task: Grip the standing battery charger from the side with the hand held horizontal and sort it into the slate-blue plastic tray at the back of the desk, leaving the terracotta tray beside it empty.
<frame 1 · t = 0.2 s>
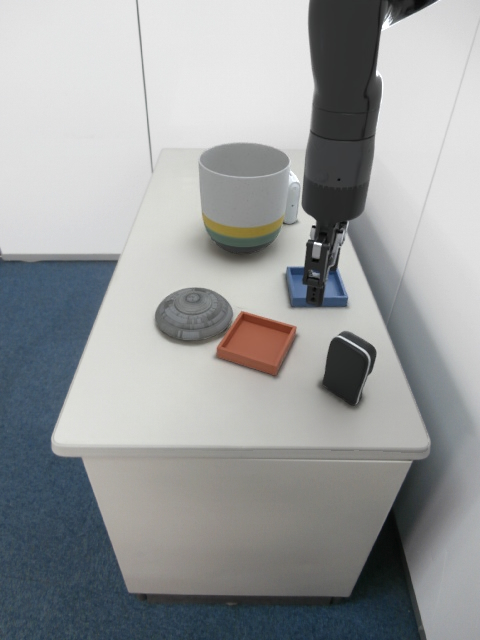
hand: (322, 285, 62), 21 cm above the table, tool pointing down, fingers open, 8 cm apart
flying saucer: (194, 319, 89), on the table
battery charger: (343, 390, 76), on the table
terracotta tray: (257, 345, 83), on the table
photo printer: (283, 215, 122), on the table
blue tray: (314, 290, 96), on the table
planter: (242, 246, 110), on the table
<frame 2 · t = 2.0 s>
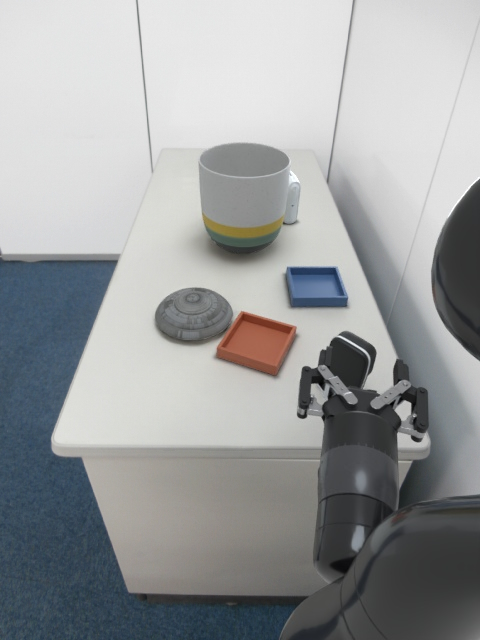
hand: (362, 357, 56), 18 cm above the table, tool horizontal, fingers open, 8 cm apart
nothing on the table moved.
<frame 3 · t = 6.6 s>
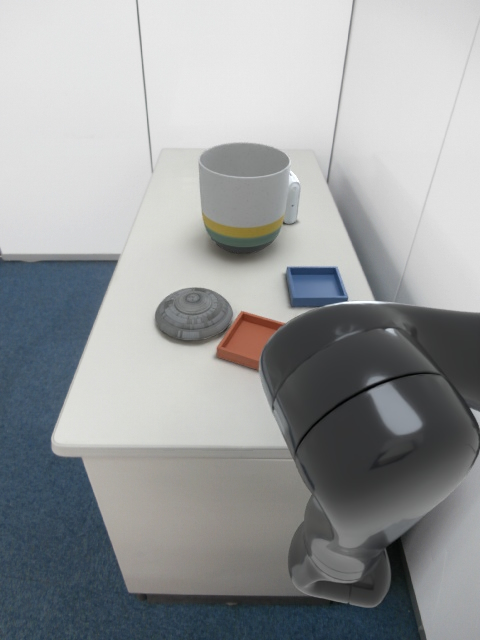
hand: (350, 351, 72), 7 cm above the table, tool horizontal, fingers closed on battery charger, 7 cm apart
battery charger: (343, 390, 76), on the table, touching gripper
everything else where it was.
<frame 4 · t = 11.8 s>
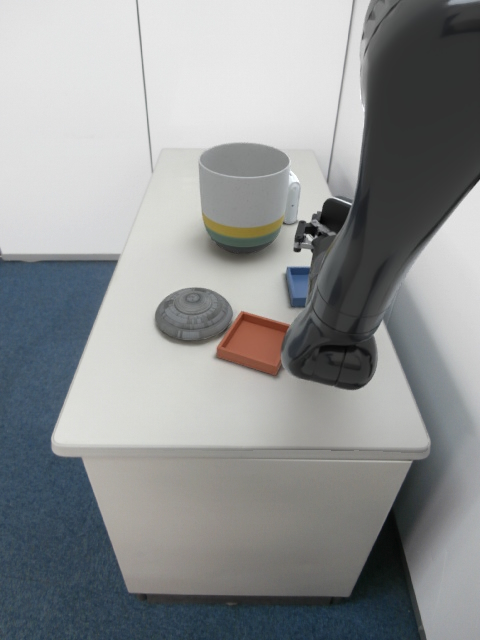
hand: (342, 219, 75), 22 cm above the table, tool horizontal, fingers closed on battery charger, 7 cm apart
battery charger: (335, 262, 78), point 14 cm above the table, touching gripper
everything else where it was.
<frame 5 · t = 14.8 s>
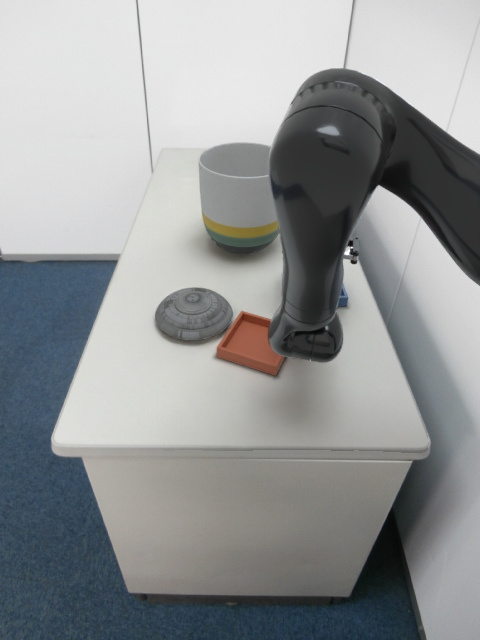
hand: (324, 226, 89), 14 cm above the table, tool horizontal, fingers closed on battery charger, 7 cm apart
battery charger: (318, 263, 92), point 7 cm above the table, touching gripper
everything else where it was.
when the fingers open (8 cm above the table, at t = 17.0 s): battery charger stays where it is, resting on blue tray.
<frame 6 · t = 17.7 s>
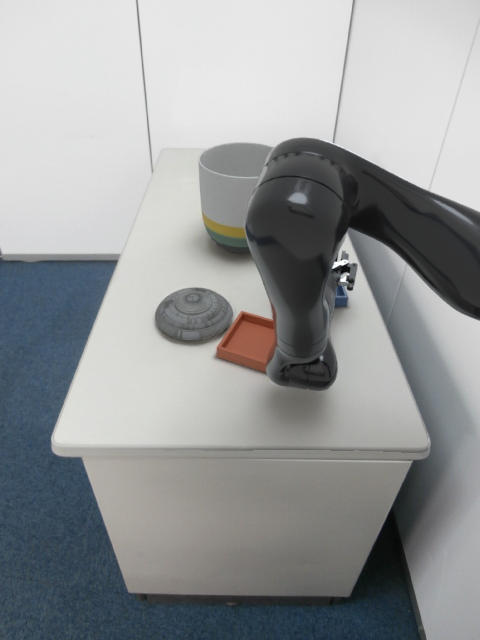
hand: (321, 251, 92), 9 cm above the table, tool horizontal, fingers open, 8 cm apart
battery charger: (315, 289, 96), resting on blue tray, touching gripper
everything else where it was.
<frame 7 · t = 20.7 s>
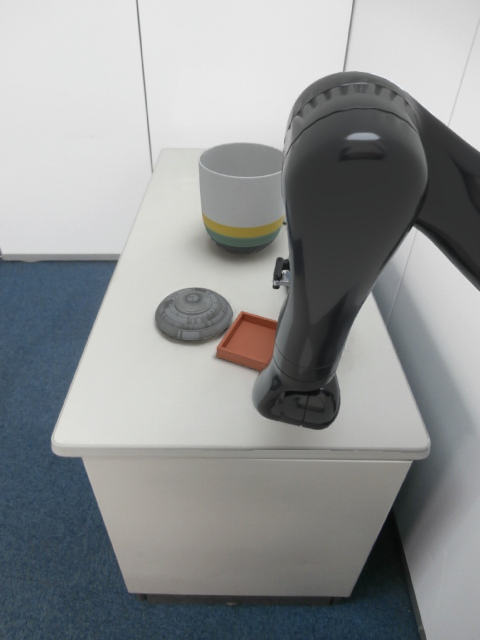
hand: (321, 254, 79), 15 cm above the table, tool horizontal, fingers open, 8 cm apart
battery charger: (314, 289, 96), resting on blue tray
everything else where it was.
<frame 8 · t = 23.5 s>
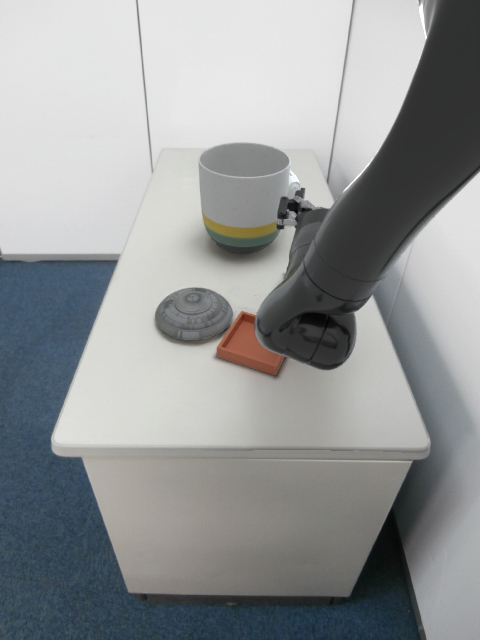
hand: (329, 196, 72), 26 cm above the table, tool horizontal, fingers open, 8 cm apart
nothing on the table moved.
at the end: battery charger inside the target area in the blue tray (0.1 cm from its centre), point 0.3 cm above the blue tray's base; battery charger tilted 0°; battery charger touching blue tray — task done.
